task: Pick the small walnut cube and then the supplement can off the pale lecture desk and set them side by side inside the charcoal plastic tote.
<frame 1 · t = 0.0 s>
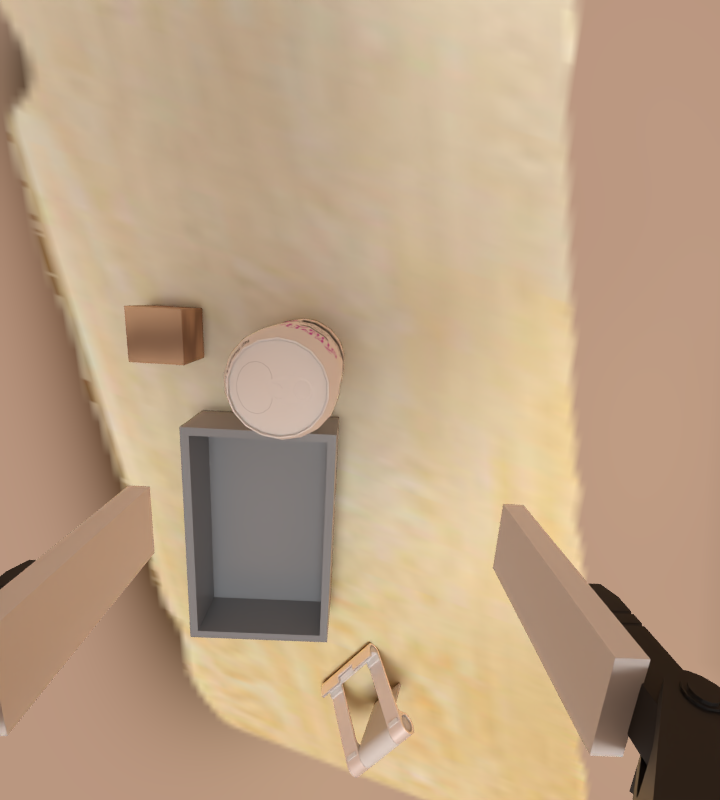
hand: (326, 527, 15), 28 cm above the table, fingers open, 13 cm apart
walnut cube: (178, 331, 41), on the table
tote: (270, 512, 46), on the table
portable electronic device stand: (366, 675, 52), on the table
supplement can: (305, 358, 42), on the table
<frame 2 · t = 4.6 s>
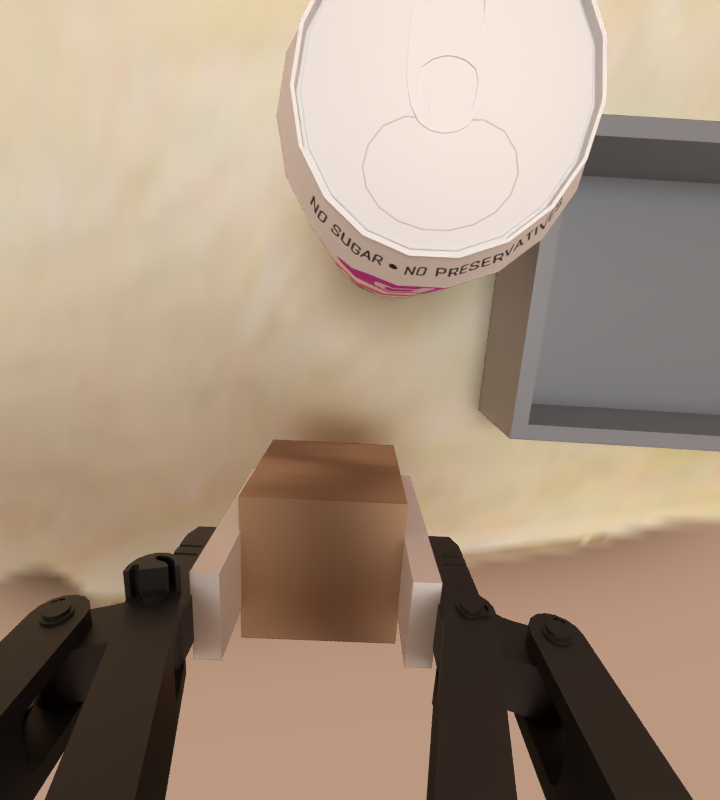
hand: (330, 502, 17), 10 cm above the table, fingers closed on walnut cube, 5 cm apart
walnut cube: (331, 497, 17), point 9 cm above the table, touching gripper
tote: (687, 305, 24), on the table
supplement can: (396, 226, 24), on the table
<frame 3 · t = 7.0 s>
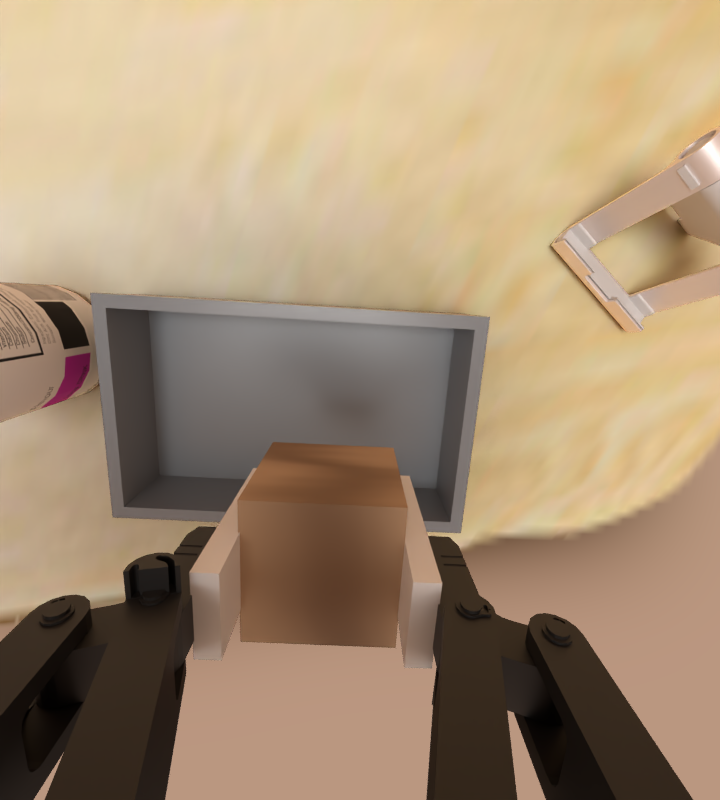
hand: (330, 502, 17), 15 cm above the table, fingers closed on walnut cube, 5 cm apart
walnut cube: (331, 499, 17), point 14 cm above the table, touching gripper
tote: (302, 400, 31), on the table
portable electronic device stand: (624, 250, 29), on the table
supplement can: (63, 341, 30), on the table
when the fingers open (2 cm above the table, at t = 9.5 s): walnut cube stays where it is, resting on tote.
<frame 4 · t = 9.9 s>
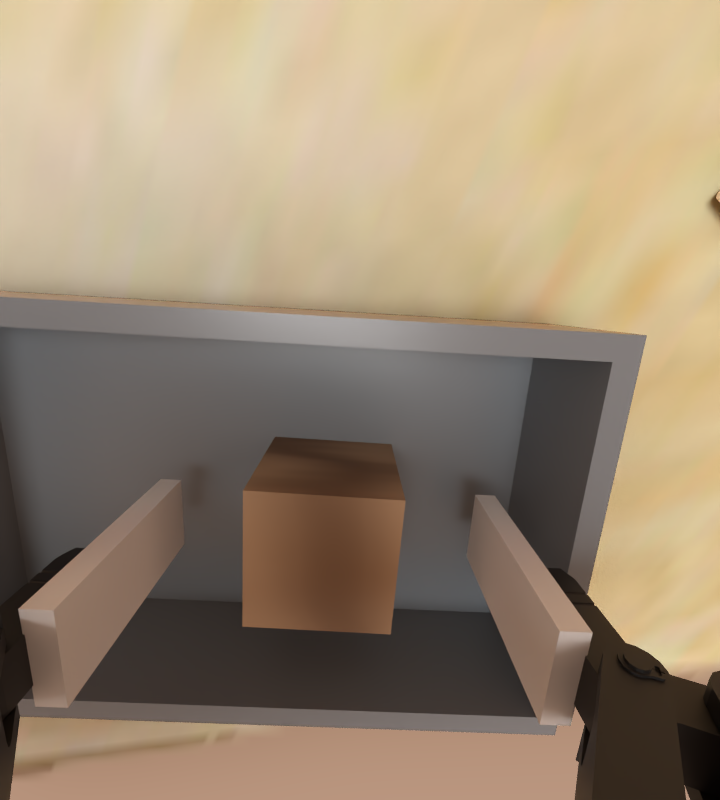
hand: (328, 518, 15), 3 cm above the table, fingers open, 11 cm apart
walnut cube: (330, 493, 18), point 1 cm above the table, touching tote
tote: (267, 470, 18), on the table
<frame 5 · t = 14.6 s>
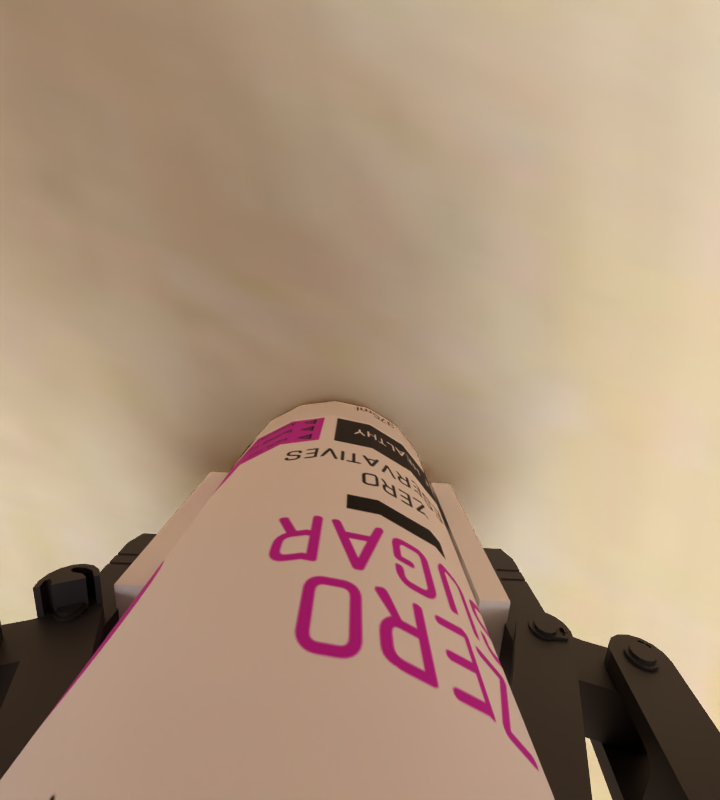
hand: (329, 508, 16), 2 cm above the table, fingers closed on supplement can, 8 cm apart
supplement can: (332, 481, 19), on the table, touching gripper
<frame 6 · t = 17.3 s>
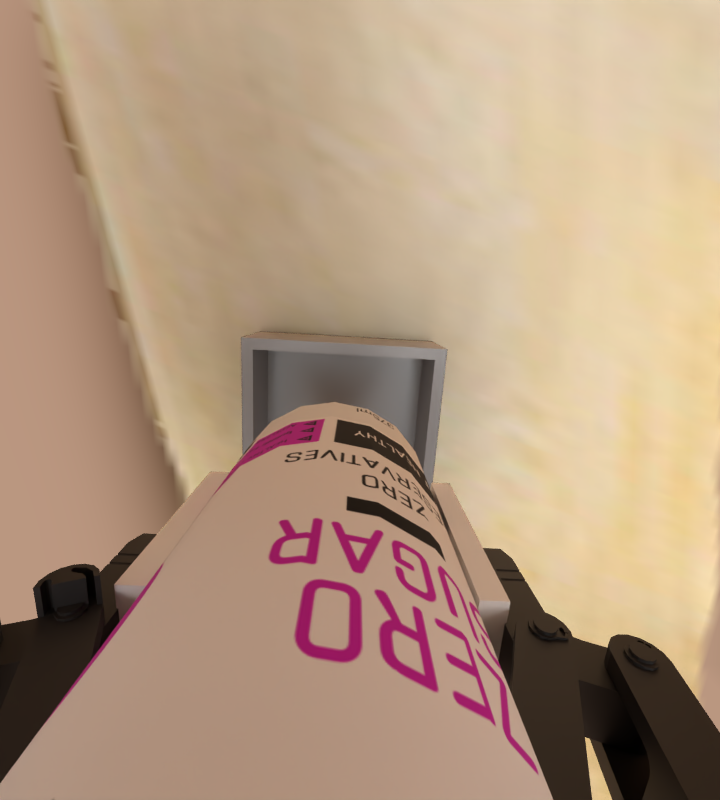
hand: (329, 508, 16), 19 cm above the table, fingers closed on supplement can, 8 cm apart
tote: (340, 465, 37), on the table
supplement can: (332, 482, 19), point 17 cm above the table, touching gripper
when the fingers open (6 cm above the table, at t = 20.0 s): supplement can drops 3 cm, resting on tote.
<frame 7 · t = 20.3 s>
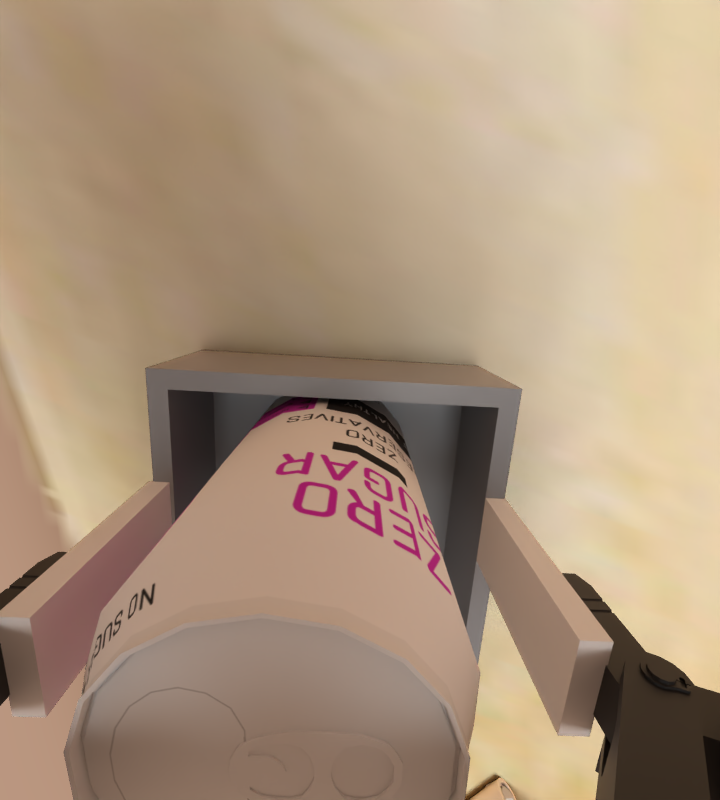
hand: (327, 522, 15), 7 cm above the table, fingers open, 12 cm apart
tote: (331, 553, 24), on the table
supplement can: (329, 452, 22), point 1 cm above the table, touching tote
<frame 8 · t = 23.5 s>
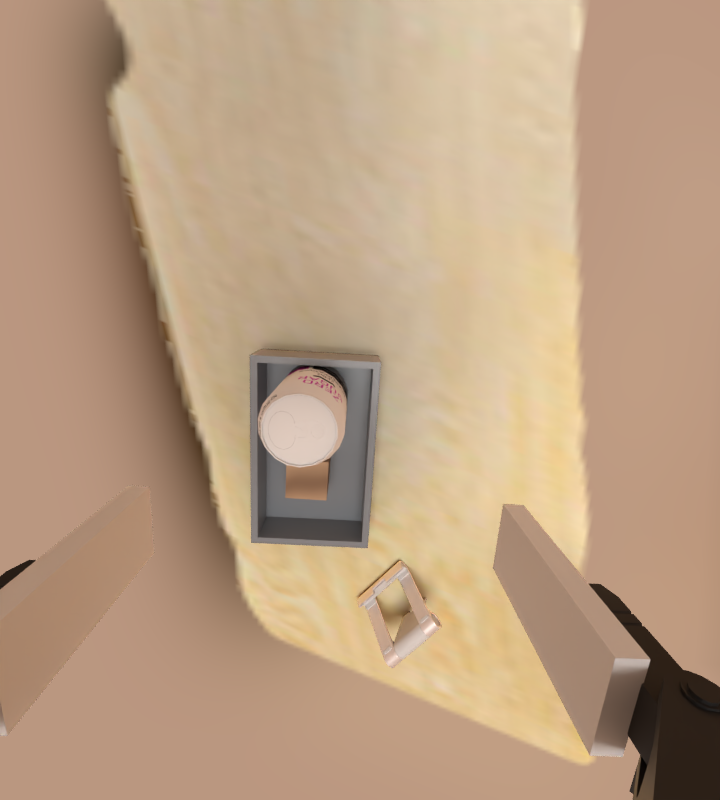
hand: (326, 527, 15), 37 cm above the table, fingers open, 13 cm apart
walnut cube: (311, 463, 53), point 1 cm above the table, touching tote
tote: (317, 441, 53), on the table
portable electronic device stand: (396, 591, 59), on the table
supplement can: (315, 392, 51), point 1 cm above the table, touching tote
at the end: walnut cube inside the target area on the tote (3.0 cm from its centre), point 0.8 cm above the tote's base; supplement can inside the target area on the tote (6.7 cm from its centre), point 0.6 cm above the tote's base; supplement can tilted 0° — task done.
